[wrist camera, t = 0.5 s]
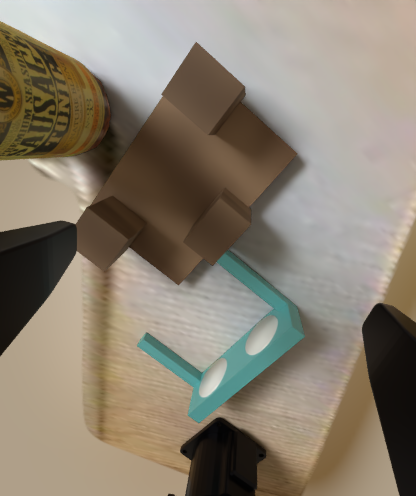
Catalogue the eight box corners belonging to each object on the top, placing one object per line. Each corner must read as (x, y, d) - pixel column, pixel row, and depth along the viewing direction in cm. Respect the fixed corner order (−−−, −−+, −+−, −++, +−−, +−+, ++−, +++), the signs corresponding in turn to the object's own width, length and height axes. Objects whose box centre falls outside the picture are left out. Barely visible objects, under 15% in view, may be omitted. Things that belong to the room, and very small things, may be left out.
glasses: (206, 386, 29) (199, 423, 26) (140, 338, 28) (124, 370, 25) (297, 307, 25) (306, 337, 22) (224, 247, 24) (220, 268, 21)
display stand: (179, 284, 26) (164, 317, 21) (89, 213, 25) (52, 232, 20) (302, 148, 21) (317, 153, 16) (197, 53, 20) (181, 28, 15)
